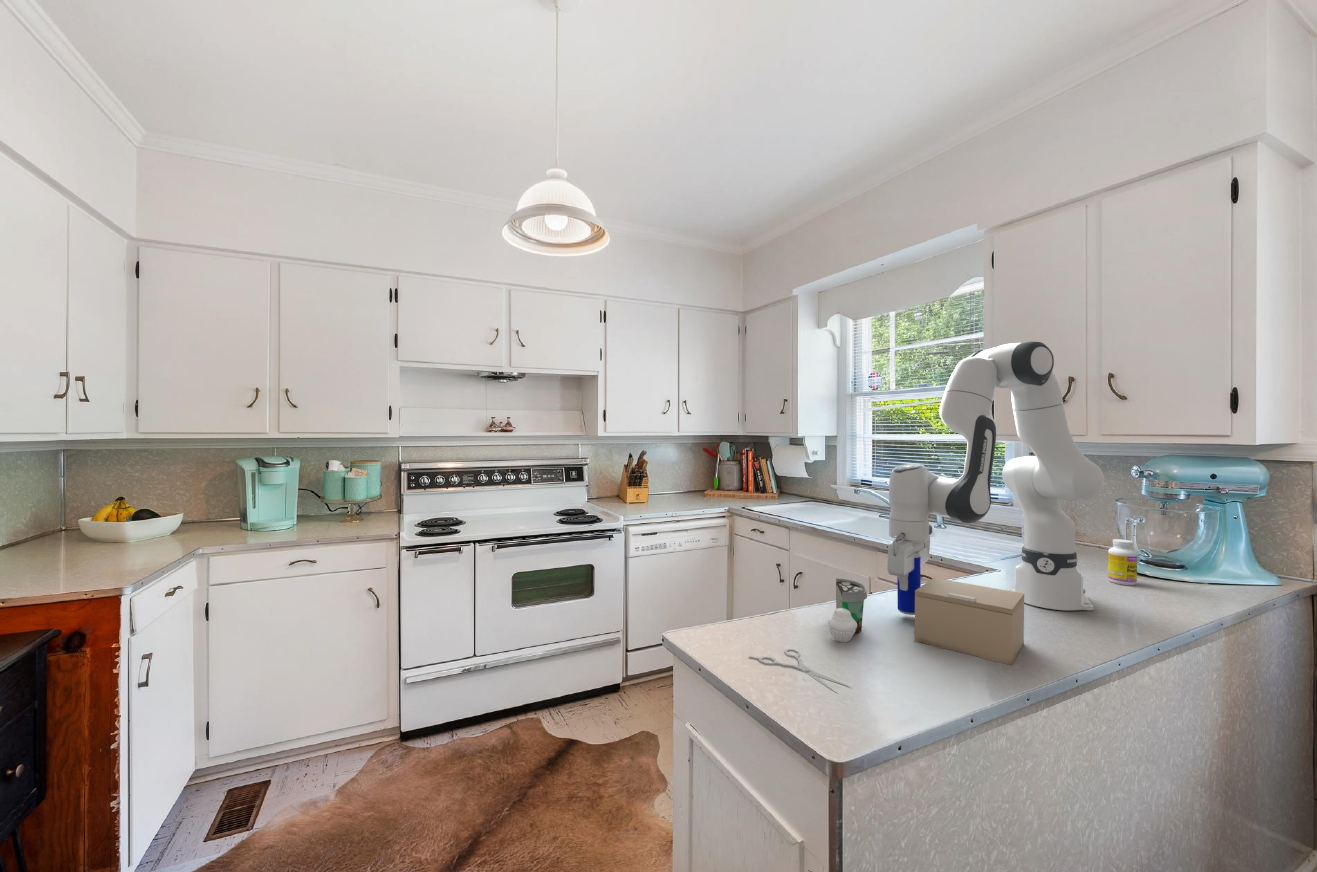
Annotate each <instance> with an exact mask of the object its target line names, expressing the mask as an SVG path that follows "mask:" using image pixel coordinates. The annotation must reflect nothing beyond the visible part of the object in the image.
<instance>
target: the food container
mask: <svg viewBox="0 0 1317 872" xmlns="http://www.w3.org/2000/svg"><path fill="white" fill-rule="evenodd" d="M835 590H836V591H835V594H836V595H835V596H836V597H835V605H836V607H835V608H836V609H838V608H844V609H847V610H849V611H850V613H851V616H852V618H853V619H854V620H855V621H856V623H857V628H856V631H855V633H854V635H858V634H860V633H861V632H862V628H863V626H862V625H863V616H864V615H863V614H864V604H865V600H866V599H867V598H868V594H867V590H866V588H865V585H864V584H862V583H860V582H858V581H855V580H851V579H846V578H835ZM836 609H835V610H836Z"/></svg>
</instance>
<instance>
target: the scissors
mask: <svg viewBox="0 0 1317 872" xmlns="http://www.w3.org/2000/svg"><path fill="white" fill-rule="evenodd" d="M783 652H784V654H785V655H786V656H787V657H791V658H794V659H796V660H797V662H798V665H797V664H790V663H789V664H788V663H784V662H783V663H782V662H780V661H778V660H777V659H776V658H774V657H772V656H771V657H770V656H760V657H759V656H752V655H749V656H748V659H753V660H758V662H760V663H761V664H763V665H765V666H766V665H768V666H775V665H776V666H781V667H783V668H786V667H788V668H793V669H795V670H798V671H801V672H804V673H805V674H807V675H808V676H810V677H811V678H813V679H814V680H815V681H816V682H818V683H820V684H821V685H823V686H824V687H826V688H827V689H829V690H830V691H832V692H833V693H835V694H838V695H839V693H838V692H837V691H836V690H835V689H833V688H832V687H831V686H830V685H829V684H827V683H826V682H825V681H823V680H822V679H825V680H827V681H830V682H833V683H837V684H841V685H843V686H846V687H849V688H853V687H852V686H850V685H847V684H845V683H843V682H841V681H838V680H836V679H834V678H831V677H829V676H826V675H824V674H821V673H819V672H816V671H814V670H812V669H811V668H810V667H808V666H807V665H805V664H804V663H803V662H802V659H801V658H800V657H801V652H800V651H799V650H797V649H794V648H786V649H785V650H784V651H783ZM789 652H795V653H797V654H792V653H791V654H790V653H789ZM765 659H766V660H770V661H771V662H770V661H765ZM821 678H822V679H821Z"/></svg>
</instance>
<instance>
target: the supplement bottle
mask: <svg viewBox="0 0 1317 872" xmlns="http://www.w3.org/2000/svg"><path fill="white" fill-rule="evenodd" d="M1112 545H1113V546H1112V547H1110V548H1109V549H1108V552H1107V553H1108V557H1107V561H1108V563H1107V564H1108V565H1107V580H1108V581H1109V582H1110V583H1112V584H1117V585H1120V584H1121V585H1120V586H1135V585H1137V584H1138V583H1137V582H1138V580H1137V579H1138V578H1137V577H1138V552H1137V551H1136V550H1134V549H1133V547H1134V541H1133V540H1130V539H1129V540H1128V539H1119V538H1114V539H1112Z"/></svg>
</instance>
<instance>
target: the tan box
mask: <svg viewBox="0 0 1317 872" xmlns="http://www.w3.org/2000/svg"><path fill="white" fill-rule="evenodd" d="M1024 635H1025V603H1024V599H1023V600H1022V602H1021V603H1020V604H1019V606H1018V607H1017V608H1016V610H1015V611H1014V612H1013V614H1008V613H1003V612H998V611H992V610H987V609H982V608H977V607H972V606H967V605H962V604H957V603H952V602H947V601H942V600H937V599H932V598H927V597H922V596H917V595H915V615H914V642H917V643H921V644H926V645H929V646H934V647H937V648H941V649H942V648H943V649H946V650H950V651H953V652H957V651H959V652H958V653H961V652H962V653H961V654H965V653H966V654H965V655H969V654H970V655H969V656H974V657H977V658H982V659H986V660H990V661H994V662H996V663H997V662H998V663H1002V664H1006V665H1010V666H1012V665H1013V663H1014V661H1015V660H1016V659H1017V656H1018V655H1019V653H1020V651H1021V649H1022V648H1023V646H1024V645H1025V644H1024V643H1025V641H1024V640H1025V636H1024Z"/></svg>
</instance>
